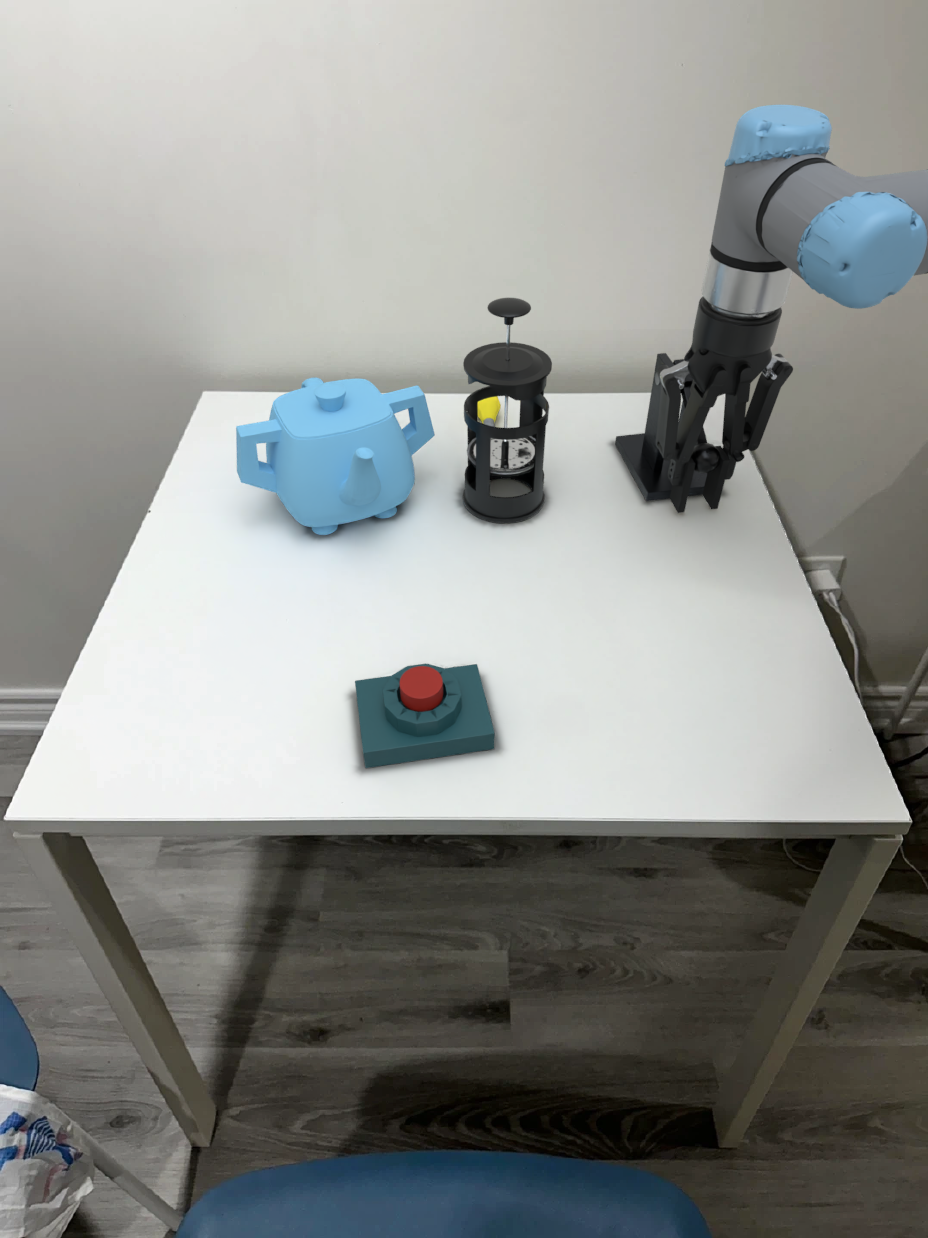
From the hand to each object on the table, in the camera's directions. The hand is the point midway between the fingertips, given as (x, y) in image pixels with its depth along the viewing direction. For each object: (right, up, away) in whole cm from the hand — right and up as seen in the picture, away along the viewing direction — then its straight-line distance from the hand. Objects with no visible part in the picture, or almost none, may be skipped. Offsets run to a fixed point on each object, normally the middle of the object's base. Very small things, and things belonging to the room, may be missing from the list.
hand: (693, 503), depth 95 cm
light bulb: (-23, +12, +14) cm, 29 cm away
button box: (-29, -22, -20) cm, 42 cm away
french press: (-21, +1, +3) cm, 21 cm away
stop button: (-29, -19, -23) cm, 42 cm away
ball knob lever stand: (-1, +5, +7) cm, 9 cm away
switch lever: (-1, +8, -2) cm, 9 cm away
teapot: (-39, -1, +2) cm, 39 cm away
